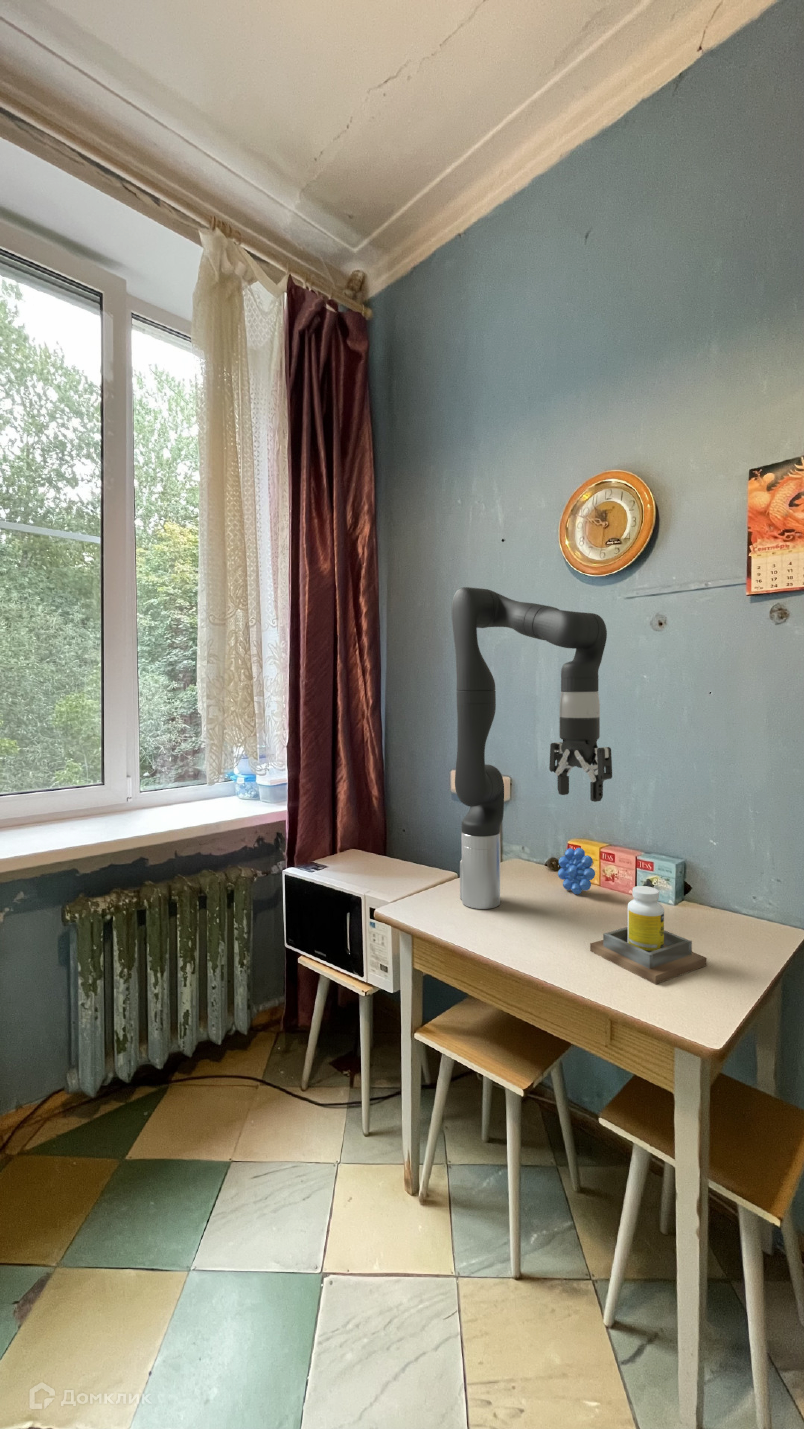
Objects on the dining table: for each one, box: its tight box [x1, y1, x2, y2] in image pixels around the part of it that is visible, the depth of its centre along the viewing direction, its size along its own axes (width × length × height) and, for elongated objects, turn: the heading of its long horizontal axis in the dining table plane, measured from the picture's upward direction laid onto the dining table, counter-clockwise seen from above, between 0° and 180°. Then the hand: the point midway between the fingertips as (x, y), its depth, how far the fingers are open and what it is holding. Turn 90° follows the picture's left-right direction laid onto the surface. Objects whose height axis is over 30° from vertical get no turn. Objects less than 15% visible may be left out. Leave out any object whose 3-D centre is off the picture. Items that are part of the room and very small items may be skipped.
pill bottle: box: [627, 885, 665, 952], centre depth 112 cm, size 6×6×12 cm
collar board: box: [589, 926, 708, 985], centre depth 112 cm, size 15×14×4 cm
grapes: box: [557, 847, 596, 895], centre depth 148 cm, size 12×7×12 cm, turn 30°
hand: (579, 797), depth 115 cm, fingers open, 8 cm apart
